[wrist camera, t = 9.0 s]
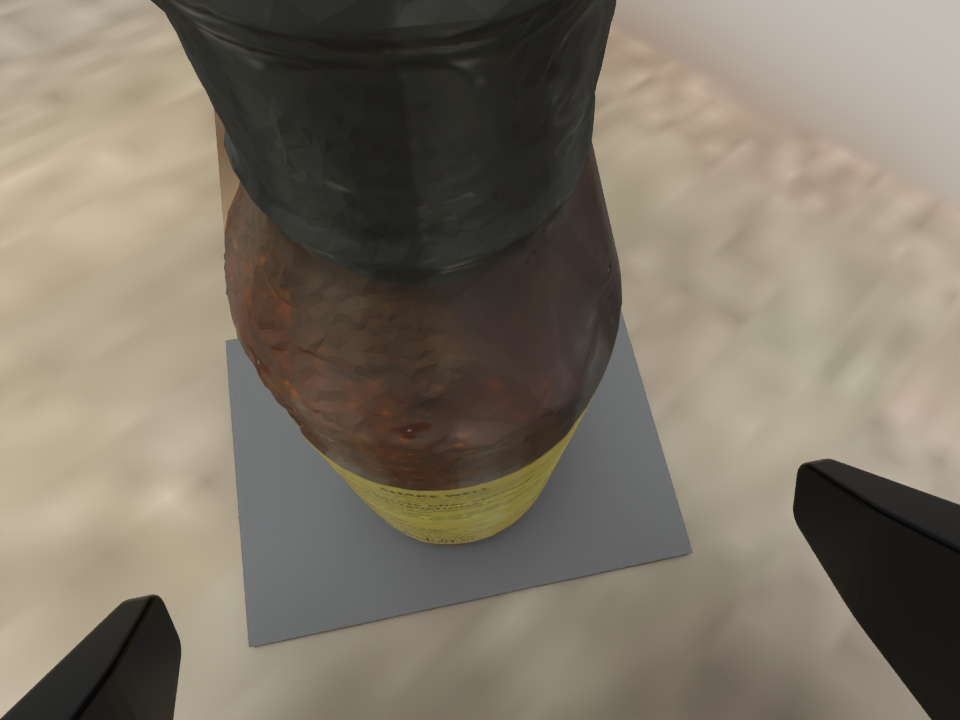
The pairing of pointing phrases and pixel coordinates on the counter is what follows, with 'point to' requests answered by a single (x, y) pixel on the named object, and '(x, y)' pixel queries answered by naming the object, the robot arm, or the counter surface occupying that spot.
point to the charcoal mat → (426, 566)
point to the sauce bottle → (417, 237)
